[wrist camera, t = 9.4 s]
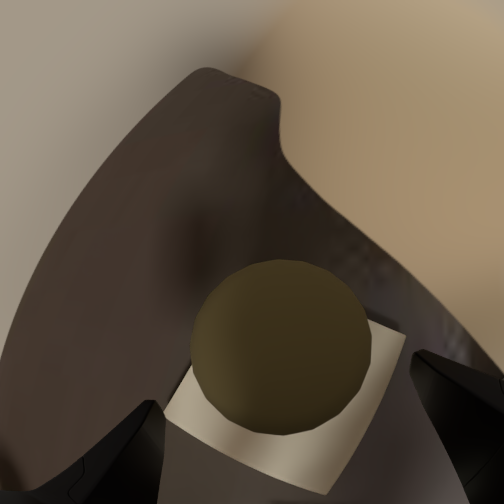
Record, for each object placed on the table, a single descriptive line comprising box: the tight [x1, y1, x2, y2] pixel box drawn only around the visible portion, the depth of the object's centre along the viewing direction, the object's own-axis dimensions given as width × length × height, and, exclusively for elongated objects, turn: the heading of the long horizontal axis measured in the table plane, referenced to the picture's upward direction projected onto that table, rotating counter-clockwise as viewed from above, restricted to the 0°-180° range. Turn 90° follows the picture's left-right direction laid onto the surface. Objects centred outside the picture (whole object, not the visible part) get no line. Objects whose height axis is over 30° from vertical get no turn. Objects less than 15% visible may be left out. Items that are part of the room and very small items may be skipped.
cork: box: [190, 259, 372, 436], centre depth 11 cm, size 6×6×11 cm
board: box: [164, 319, 406, 495], centre depth 15 cm, size 12×12×1 cm
